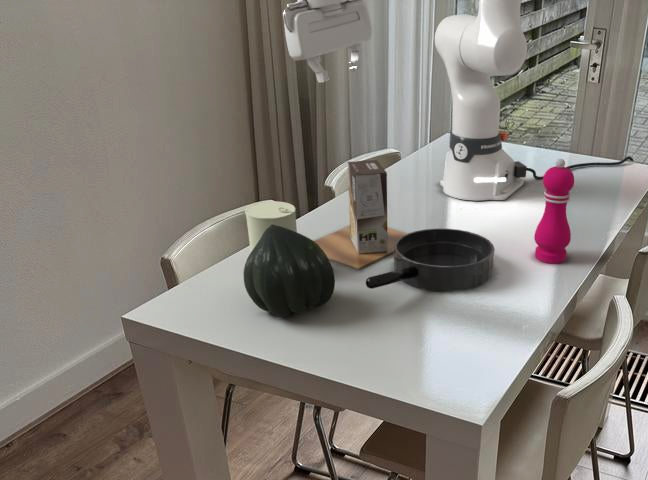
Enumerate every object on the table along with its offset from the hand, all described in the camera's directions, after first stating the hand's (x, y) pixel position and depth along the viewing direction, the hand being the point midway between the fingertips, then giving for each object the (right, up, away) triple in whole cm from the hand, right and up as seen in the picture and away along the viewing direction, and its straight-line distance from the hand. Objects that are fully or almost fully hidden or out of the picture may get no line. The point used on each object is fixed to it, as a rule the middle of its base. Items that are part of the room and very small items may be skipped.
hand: (340, 76), depth 146 cm
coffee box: (+4, -30, +11) cm, 33 cm away
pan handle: (+11, -41, -10) cm, 44 cm away
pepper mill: (+41, -33, +10) cm, 54 cm away
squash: (-7, -45, -12) cm, 47 cm away
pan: (+20, -37, +2) cm, 42 cm away
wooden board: (+3, -30, +12) cm, 32 cm away
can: (-13, -36, +1) cm, 38 cm away
